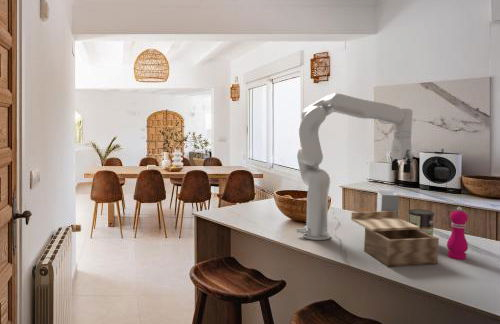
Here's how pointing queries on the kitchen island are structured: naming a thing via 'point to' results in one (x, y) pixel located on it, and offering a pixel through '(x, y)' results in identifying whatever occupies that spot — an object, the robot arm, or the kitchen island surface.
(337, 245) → the kitchen island surface
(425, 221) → the coffee can
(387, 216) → the box lid
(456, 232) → the pepper mill
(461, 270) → the kitchen island surface
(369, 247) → the walnut box
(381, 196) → the hard drive box
